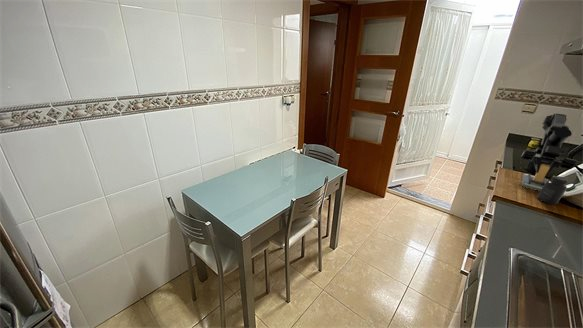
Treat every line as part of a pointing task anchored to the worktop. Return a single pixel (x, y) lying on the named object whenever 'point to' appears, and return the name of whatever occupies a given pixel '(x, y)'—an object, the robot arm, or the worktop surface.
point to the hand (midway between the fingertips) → (541, 173)
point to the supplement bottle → (553, 190)
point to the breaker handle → (540, 174)
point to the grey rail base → (527, 182)
